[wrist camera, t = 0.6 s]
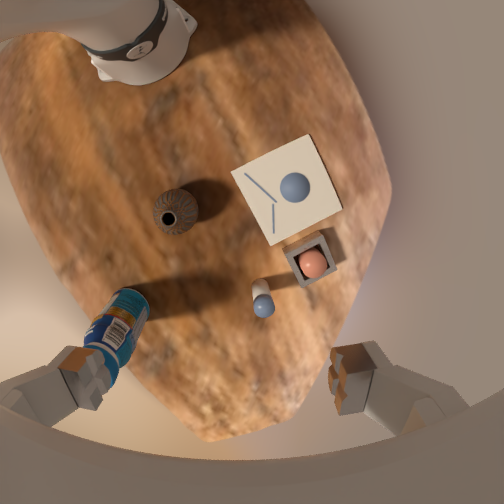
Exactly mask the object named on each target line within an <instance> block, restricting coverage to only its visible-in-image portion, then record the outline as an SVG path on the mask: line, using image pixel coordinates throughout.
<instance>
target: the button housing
mask: <svg viewBox="0 0 504 504" xmlns="http://www.w3.org/2000/svg"><path fill="white" fill-rule="evenodd" d="M317 244H318V246H319V248H320V250H321V253H322V255H323V256H324V258H325V259H326V261H327V269H326V271H325V272H324V274H323V275H321V276H320V277H317V278H309V277H307V276H306V275H305V274H304V273H302V274H301V273H300V270H299V268H298V266H297V264H296V262H295V260H294V258H293V257H294V256H296V255H298V254H300V253H302V252H304V251H306V250H307V249H309V248H311V247H313V246H315V245H317ZM282 250H283V252H284V254H285V256H286V258H287V260H288V262H289V264H290V266H291V268H292V270H293V272H294V274H295V276H296V278H297V280H298V282H299V284H300V286H301V288H303V287H305V286H307V285H309V284H311V283H313V282H315V281H317V280H319V279H321V278H322V277H324V276H326V275H328V274H330V273H332V272H334V271H336V270H337V267H336V265H335V263H334V260H333V258H332V255H331V253H330V251H329V248H328V246H327V243H326V241H325V239H324V236H323V235H322V234H321V233H320V232H319V231H318V230H317V231H315V232H313V233H311V234H309V235H308V236H306V237H304V238H302V239H300V240H298V241H296V242H294V243H292V244H290V245H288V246H286V247H284V248H282Z"/></svg>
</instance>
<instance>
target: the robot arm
mask: <svg viewBox="0 0 504 504" xmlns="http://www.w3.org/2000/svg"><path fill="white" fill-rule="evenodd" d="M185 20H188V21H187V22H185ZM197 25H198V24H197V22H196V20H195V19H194V18H193V17H192V16H191V15H189V14H188V13H187V12H186V11H185V10H184V9H183V8H181V7H180V6H179V5H178V4H177V3H175V2H174V1H173V0H0V42H3V41H5V40H8V39H10V38H14V37H17V36H21V35H25V34H30V33H36V32H58V33H62V34H64V35H66V36H69V37H71V38H73V39H75V40H77V41H79V42H80V43H81V45H82V46H83V47H84V48H85V49H86V51H87V52H88V54H89V56H91V58H92V60H91V63H92V64H93V65H94V66H95V67H97V69H98V74H99V78H100V79H101V80H102V81H105V82H109V81H120V82H123V83H126V84H130V85H144V84H149V83H152V82H155V81H157V80H160V79H161V78H163V77H165V76H166V75H168V74H169V73H171V72H172V71H173V70H174V69H175V68H176V67H177V66H178V65H179V64H180V62H181V61H182V59H183V58H184V56H185V54H186V51H187V48H188V43H189V39H190V36H191V35H192V34H193V32H194V31H195V30H196V28H197ZM330 359H331V362H332V365H331V366H330V367H329V371H328V372H329V373H328V383H329V388H330V391H331V394H333V395H335V401H334V403H335V406H336V408H337V411H338V414H339V415H340V416H341V415H346V414H353V413H358V412H364V413H365V414H366V415H368V416H369V417H370V418H372V419H373V420H374V421H376V422H377V423H379V424H380V425H381V426H383V427H384V428H385V429H387V430H388V431H390V432H391V433H393V434H394V435H396V437H393V438H390V439H386V440H382V441H379V442H375V443H371V444H368V445H363V446H359V447H354V448H350V449H345V450H340V451H334V452H329V453H323V454H316V455H309V456H301V457H293V458H281V459H269V460H268V459H267V460H206V459H205V460H204V459H191V458H180V457H171V456H163V455H156V454H150V453H144V452H138V451H132V450H127V449H123V448H118V447H114V446H109V445H106V444H102V443H98V442H94V441H90V440H87V439H84V438H80V437H77V436H74V435H71V434H68V433H65V432H62V431H59V430H57V429H54V428H51V427H52V426H53V425H55V424H56V423H57V422H59V421H61V420H62V419H63V418H65V417H66V416H68V415H69V414H71V413H72V412H74V411H75V410H77V409H78V407H79V408H84V409H89V410H94V411H96V410H97V409H98V407H99V405H100V404H101V402H102V400H103V399H102V395H103V394H105V393H107V392H108V390H109V389H110V386H111V375H110V372H109V369H108V368H107V367H106V366H105V365H104V361H105V358H104V356H103V353H102V352H101V351H100V350H97V349H90V348H83V347H77V346H66V347H65V348H64V349H63V350H62V351H61V352H60V353H59V354H58V355H57V356H56V357H55V358H54V359H53V360H52V361H51V362H50V363H49V364H48V365H47V366H42V367H39V368H37V369H34V370H31V371H29V372H26V373H24V374H21V375H19V376H16V377H14V378H11V379H8V380H6V381H3V382H1V383H0V504H504V389H502V390H501V391H499V392H497V393H495V394H494V395H492V396H490V397H488V398H487V399H485V400H483V401H481V402H479V403H477V404H475V405H473V406H471V407H469V406H468V404H467V403H466V402H465V401H464V399H463V398H462V397H461V396H460V395H459V393H458V392H457V391H456V390H455V389H454V388H453V387H452V386H449V385H446V384H444V383H441V382H439V381H436V380H434V379H431V378H428V377H426V376H423V375H421V374H418V373H416V372H413V371H411V370H408V369H405V368H403V367H401V366H398V365H395V366H393V365H392V363H391V362H390V361H389V360H388V358H387V357H386V355H385V354H384V352H383V351H382V350H381V348H380V347H379V346H378V344H377V343H376V342H375V341H368V342H363V343H359V344H353V345H346V346H340V347H333V348H332V349H331V352H330Z"/></svg>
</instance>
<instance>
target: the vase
mask: <svg viewBox="0 0 504 504" xmlns="http://www.w3.org/2000/svg"><path fill="white" fill-rule="evenodd" d="M198 212H199V209H198V204H197V201H196V199H195V198H194V196H193V195H192V194H190V193H189V192H188V191H186V190H183V189H171V190H168V191H166V192H164V193H163V194H162V195H160V196H159V198H158V199H157V201H156V202H155V205H154V209H153V217H154V221H155V223H156V225H157V226H158V227H159V228H160V229H161V230H162V231H163V232H165V233H168V234H172V235H178V234H182V233H185V232H187V231H188V230H190V229H191V228H192V227H193V225H194V224H195V222H196V220H197V218H198Z"/></svg>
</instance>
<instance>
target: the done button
mask: <svg viewBox="0 0 504 504" xmlns="http://www.w3.org/2000/svg"><path fill="white" fill-rule="evenodd" d="M298 264H299V266H300V267H301V269H302V271H303V272H304V274H305V275H306V276H307V277H309V278H317V277H320V276H321V275H323V274H324V272H325V271H326V269H327V261H326V259H325V258H324V256H323V255H322V254H321V253H320V252H319V251H318V250H317V249H316V248H313V247H311V248H309V249H307V250H306V251H304V252H302V253H300V254H299V256H298Z"/></svg>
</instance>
